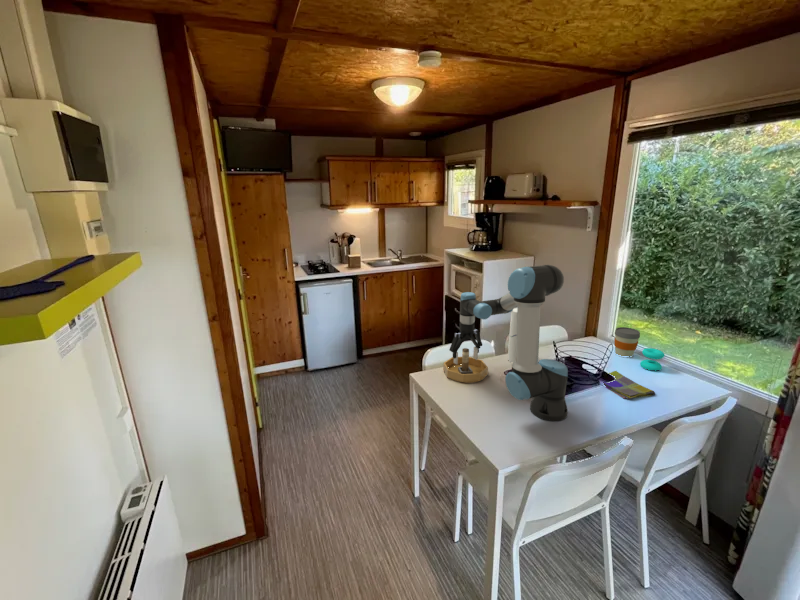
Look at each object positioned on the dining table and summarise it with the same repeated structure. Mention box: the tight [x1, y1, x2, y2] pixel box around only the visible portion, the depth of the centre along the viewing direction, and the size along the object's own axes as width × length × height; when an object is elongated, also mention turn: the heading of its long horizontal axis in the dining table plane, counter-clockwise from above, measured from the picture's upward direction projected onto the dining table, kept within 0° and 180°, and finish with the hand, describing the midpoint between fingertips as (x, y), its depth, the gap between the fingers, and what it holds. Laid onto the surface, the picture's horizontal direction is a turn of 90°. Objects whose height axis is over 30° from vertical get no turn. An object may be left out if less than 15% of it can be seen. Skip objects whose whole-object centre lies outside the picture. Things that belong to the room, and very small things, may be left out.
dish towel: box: [603, 370, 656, 400], centre depth 184 cm, size 18×24×3 cm
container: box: [507, 307, 518, 364], centre depth 210 cm, size 9×9×30 cm
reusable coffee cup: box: [613, 326, 641, 356], centre depth 218 cm, size 13×13×15 cm
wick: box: [461, 347, 470, 372], centre depth 197 cm, size 3×3×13 cm
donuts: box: [639, 347, 665, 372], centre depth 202 cm, size 10×10×10 cm
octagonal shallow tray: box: [442, 356, 489, 384], centre depth 199 cm, size 22×22×5 cm
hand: (465, 361), depth 198 cm, fingers open, 12 cm apart
